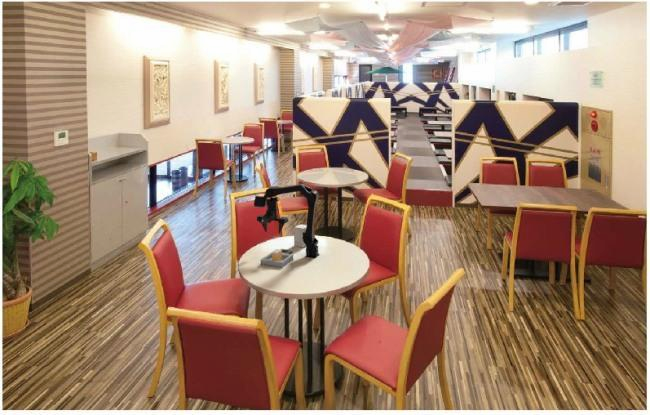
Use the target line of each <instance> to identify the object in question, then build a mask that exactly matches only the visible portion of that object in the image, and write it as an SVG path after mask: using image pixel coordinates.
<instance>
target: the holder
mask: <svg viewBox="0 0 650 415" xmlns="http://www.w3.org/2000/svg"><path fill="white" fill-rule="evenodd" d="M279 250H282V253H284V254H290V255H291V254H292V253H293V250H292V249H285V248H281V249H279Z"/></svg>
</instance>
